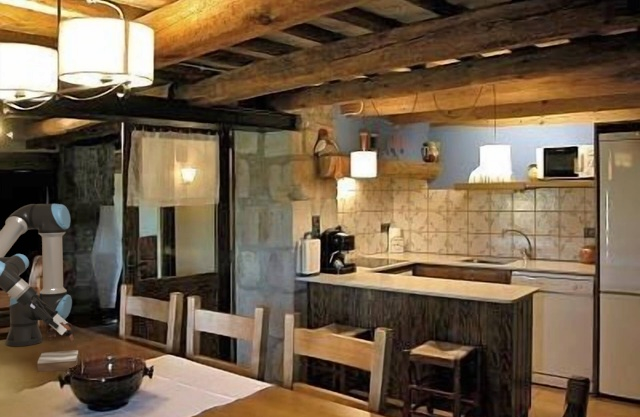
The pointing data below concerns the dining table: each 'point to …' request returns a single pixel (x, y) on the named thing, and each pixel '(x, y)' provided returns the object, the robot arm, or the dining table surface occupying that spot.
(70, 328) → the brown black arched figure
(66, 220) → the robot arm
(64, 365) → the pale flat block
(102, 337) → the dining table surface
